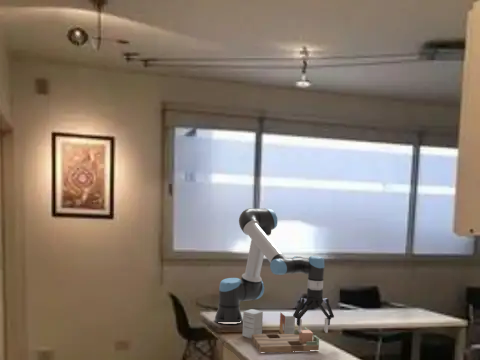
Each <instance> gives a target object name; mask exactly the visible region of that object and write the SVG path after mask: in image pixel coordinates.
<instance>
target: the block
mask: <svg viewBox="0 0 480 360" xmlns="http://www.w3.org/2000/svg"><path fill="white" fill-rule="evenodd" d="M313 335H314V332H312V331H311V329H308V330H304V329H301V333H299V338H300V339H301V340H302V341H313Z"/></svg>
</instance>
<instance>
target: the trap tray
mask: <svg viewBox="0 0 480 360" xmlns="http://www.w3.org/2000/svg"><path fill="white" fill-rule="evenodd" d="M303 330H309V329H308V328H307V327H304V328H303ZM251 342H252V344H253V345H254V346H255V348H256V349H257V350H258V351H259V353H260V352H285V353H296V352H295V351H310V350H319V349H320V338H319V337H318V336H317V335H316V334H315V335H314V334H313V341H302V340H301V339H300V338H299V332H298V330H294V334H281V333H267V334H266V333H262V334H253V335H252V339H251ZM293 351H294V352H293Z"/></svg>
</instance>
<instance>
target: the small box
mask: <svg viewBox="0 0 480 360" xmlns="http://www.w3.org/2000/svg"><path fill="white" fill-rule="evenodd" d="M293 314H294V313H292V312H289V311H285V312H283V311H282V312H280V314H279V330H278V331H279V334H294V331H296V329H295V328H296V327H295V326H296V318H295V317H294V316H293Z"/></svg>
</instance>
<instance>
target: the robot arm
mask: <svg viewBox="0 0 480 360" xmlns="http://www.w3.org/2000/svg"><path fill="white" fill-rule="evenodd" d="M238 223H239V227H240V230H241V231H242V232H243V233H244V234H245V235H246V236H248V237H249V238H250V240H251V241H250V245H249V252H248V256H247V260H246V267H245V271H244V273H242V274H241V279H240V278H239V277H228V278H224V279H222V280H221V281H220V282H219V288H218V289H219V290H218V291H219V292H218V293H219V295H218V308H217V311H216V313H215V317H214V322H215V321H216V322H215V323H217V322H240V321H242V322H243V315H242V312H241V309H240V304H241V302H245V301H246V302H247V301H255V300H258V299H259V300H260V298H262V297H263V295H264V292H265V286H264V282H263V280H262V279H263V278H262V277H261V271H262V267H263V261H264V257H265V258H266V259H267V261H268V262H269V263H270V265H269V268H270V271H271V273H272V274H273V275H278V276H279V275H280V276H282V275H283V276H284V275H291V274H292V275H293V274H304V275H305V274H306V275H307V290H306V297H305V298H303V297H301V298H299V300H300V301H299V304H298V305H297V307H296V309H295V311H294V313H292V314H293V316H294V317H295V319H296V325H297V331H298V332H299V333H301V330H302V326H303V319H302V318H303V316H304V315H305V314H306V313H307V311H308V310H310V309H318V308H319V309H320V310H321V312H322V313H323V315H325V317H324V324H323V325H324V329H323V331H324V332H325V333H326V334H328V333H329V332H328V331H329V326H330V325H331V320H332V318H333V319H334V318H335V314H334V313H333V311H332V308H331V305H330V301H329V298H327V297H325V298H323V296H324V290H323V289H324V276H325V275H324V274H325V258H324V257H323V256H318V255H311V256H309V257H308V258H307V257H302V256H297V255H296V256H294V257H290V258H287V257H286V256H285V254H283V253H282V251H281V250H280V249H279V248H278V247H277V246H276V244H275V243H274V242H273V241H272V240H271V238H270V237H269V236H270V235H272V230H274V229H276V228H277V226H278V217H277V214H276V212H275V211H274V210H273V209H271V208H267V207H266V208H265V207H264V208H246V209H245V210H243V211H242V212H241V214H240V215H239V219H238ZM305 303H306V304H305ZM322 304H325V307H326V309H327V310H326V309H325V307H324V306H323V305H322ZM303 306H304V307H303ZM327 311H328V312H327Z"/></svg>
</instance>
